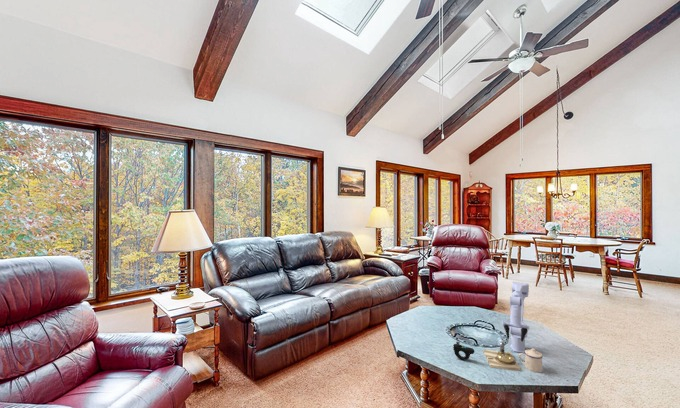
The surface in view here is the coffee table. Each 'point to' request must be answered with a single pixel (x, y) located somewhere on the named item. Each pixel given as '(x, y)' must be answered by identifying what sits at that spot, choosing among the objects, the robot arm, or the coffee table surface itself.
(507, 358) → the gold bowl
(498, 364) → the slatted wooden board
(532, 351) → the teacup with lid
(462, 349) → the controller
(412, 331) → the coffee table surface
